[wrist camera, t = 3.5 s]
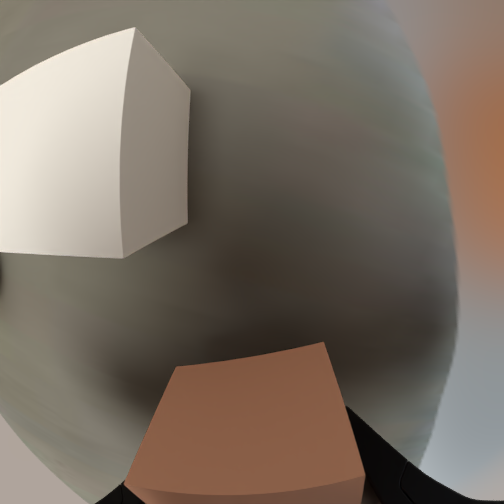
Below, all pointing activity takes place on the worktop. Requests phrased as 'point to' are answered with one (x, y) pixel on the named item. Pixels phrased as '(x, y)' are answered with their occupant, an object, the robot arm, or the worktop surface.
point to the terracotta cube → (251, 435)
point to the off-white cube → (94, 151)
